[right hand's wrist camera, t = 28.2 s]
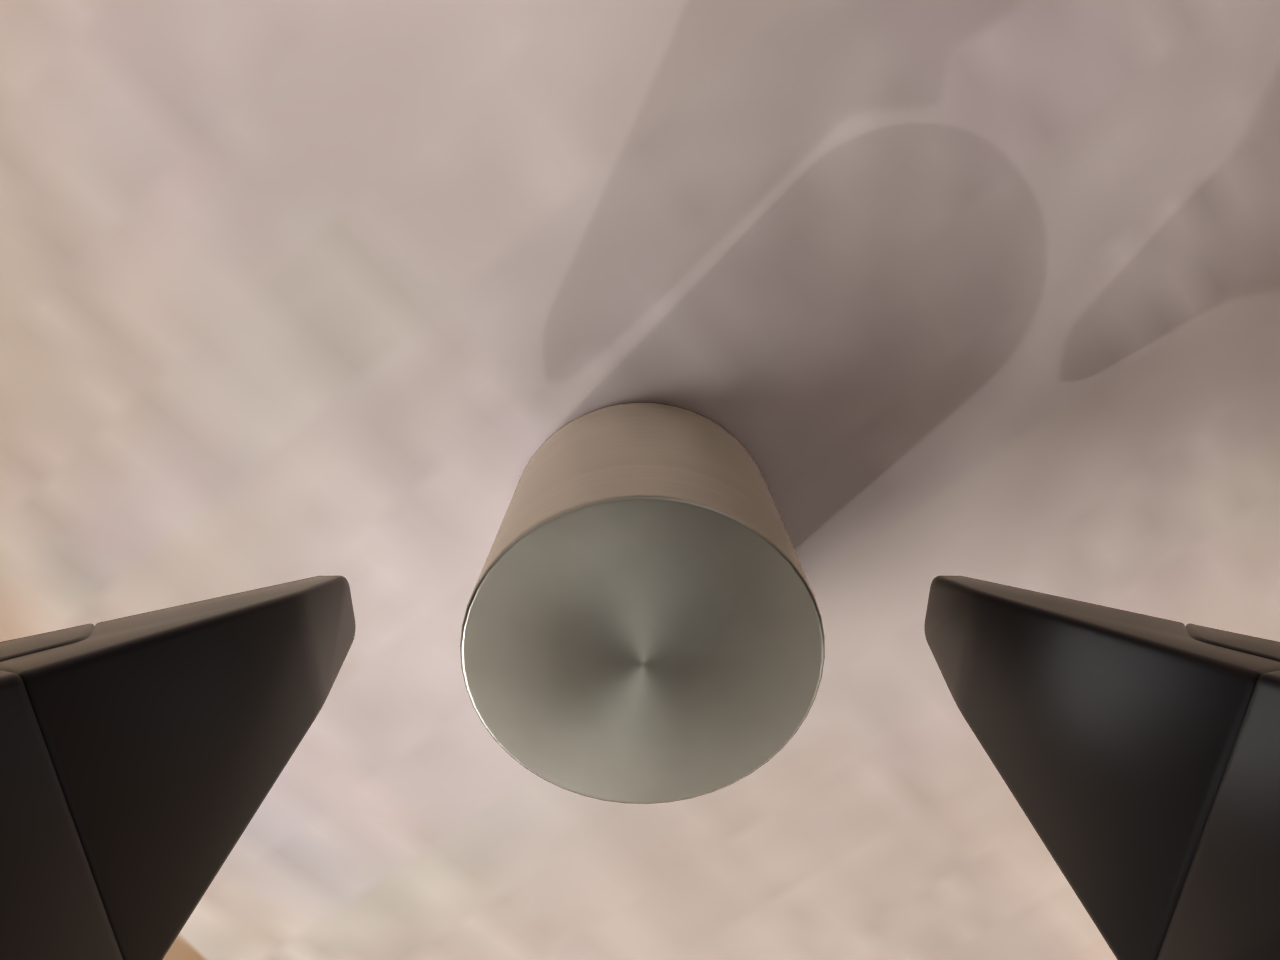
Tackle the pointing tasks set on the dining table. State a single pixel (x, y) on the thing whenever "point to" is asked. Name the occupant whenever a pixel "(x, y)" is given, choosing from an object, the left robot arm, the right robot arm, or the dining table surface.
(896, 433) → the dining table surface
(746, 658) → the tin
